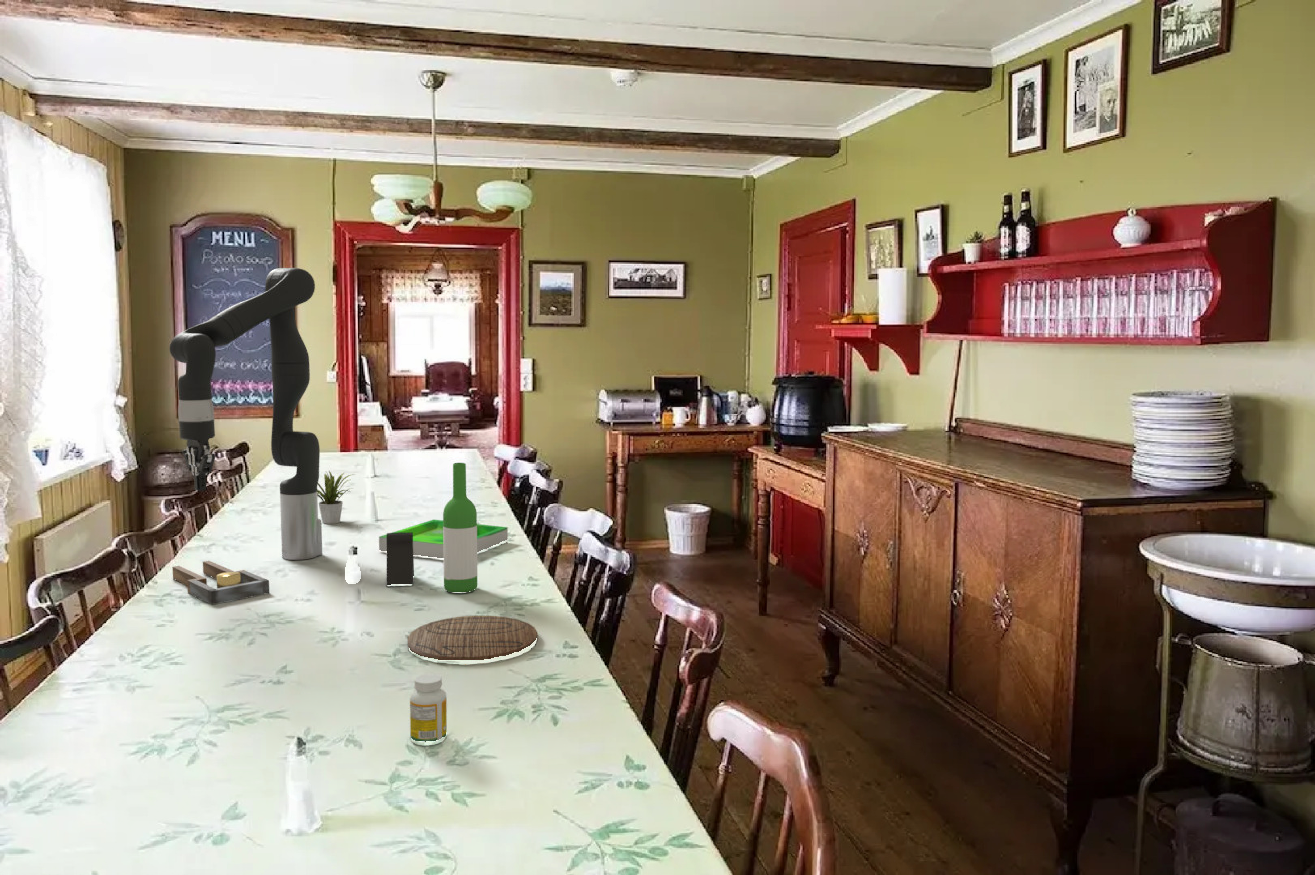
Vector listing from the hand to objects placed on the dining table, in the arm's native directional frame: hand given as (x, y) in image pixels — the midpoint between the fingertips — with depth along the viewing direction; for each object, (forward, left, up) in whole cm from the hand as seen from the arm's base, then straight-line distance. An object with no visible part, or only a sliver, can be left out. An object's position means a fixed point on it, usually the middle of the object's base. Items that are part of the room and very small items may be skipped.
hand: (200, 490), depth 228 cm
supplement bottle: (+13, +114, -22) cm, 117 cm away
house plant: (-55, -38, -22) cm, 70 cm away
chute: (+1, +9, -22) cm, 23 cm away
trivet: (-18, +83, -22) cm, 88 cm away
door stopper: (-32, +35, -22) cm, 52 cm away
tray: (-60, +13, -22) cm, 65 cm away
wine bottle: (-38, +51, -22) cm, 67 cm away
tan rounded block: (+1, +17, -22) cm, 27 cm away
